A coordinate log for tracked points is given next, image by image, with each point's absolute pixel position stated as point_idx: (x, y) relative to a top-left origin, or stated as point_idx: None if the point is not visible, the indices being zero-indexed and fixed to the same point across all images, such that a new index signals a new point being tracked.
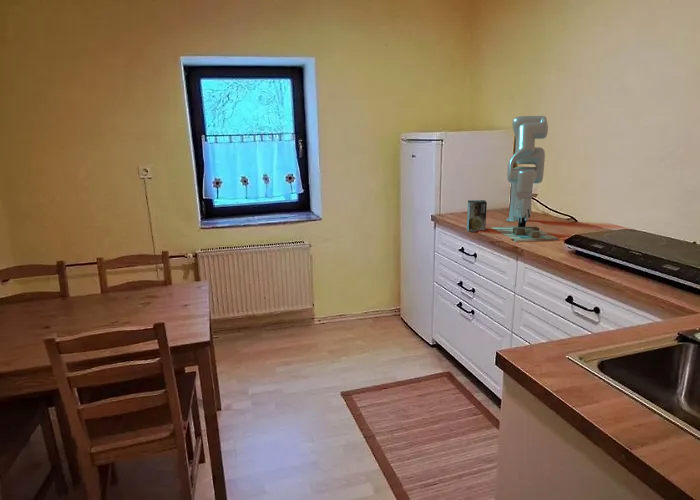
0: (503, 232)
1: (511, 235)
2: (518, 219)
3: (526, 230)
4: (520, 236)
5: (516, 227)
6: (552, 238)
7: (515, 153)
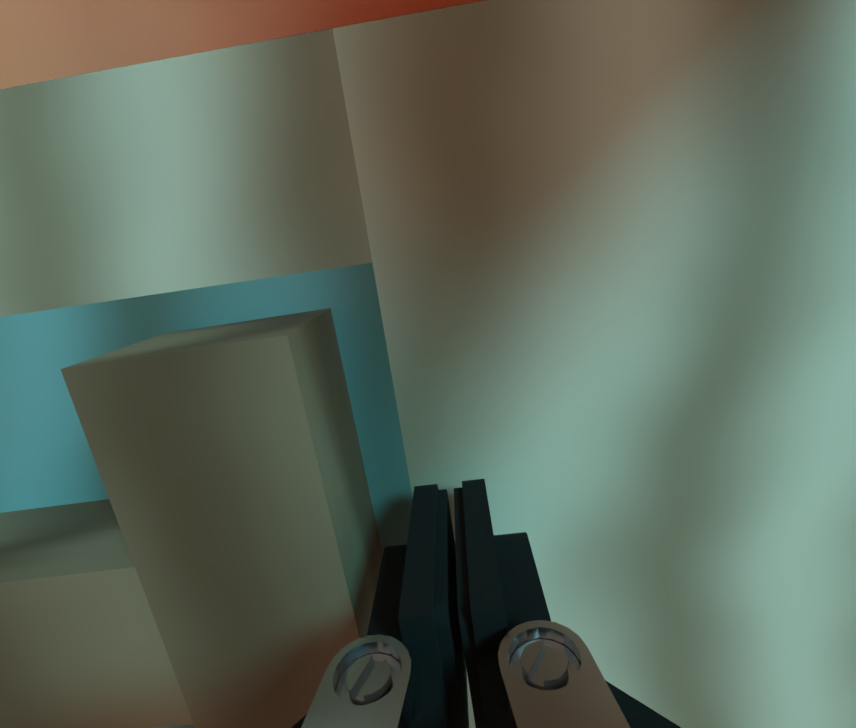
0: (403, 99)
1: (80, 204)
2: (580, 721)
3: (43, 564)
4: (17, 367)
5: (281, 426)
6: None
7: None
